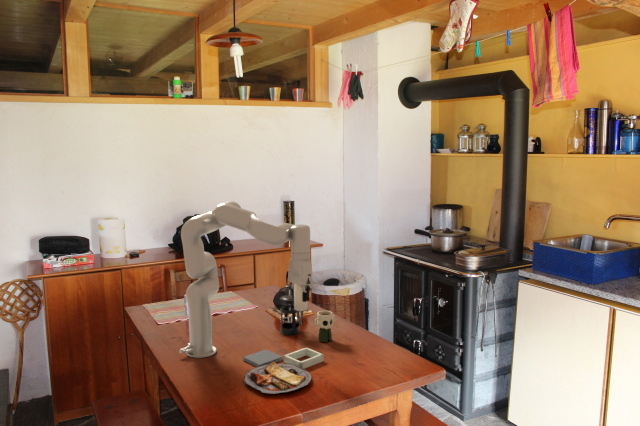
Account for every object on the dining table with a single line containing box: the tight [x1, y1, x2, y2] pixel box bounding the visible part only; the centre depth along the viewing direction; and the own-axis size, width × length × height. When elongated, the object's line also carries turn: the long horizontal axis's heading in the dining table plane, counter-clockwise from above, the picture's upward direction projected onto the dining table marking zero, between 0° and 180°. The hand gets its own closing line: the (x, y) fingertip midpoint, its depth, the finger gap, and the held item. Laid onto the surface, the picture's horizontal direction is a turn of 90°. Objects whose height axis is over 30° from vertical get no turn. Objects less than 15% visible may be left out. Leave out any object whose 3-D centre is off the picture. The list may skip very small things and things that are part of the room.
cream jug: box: [293, 283, 312, 312], centre depth 223 cm, size 8×6×12 cm
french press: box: [279, 284, 304, 337], centre depth 260 cm, size 12×9×23 cm
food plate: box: [243, 362, 312, 395], centre depth 209 cm, size 25×23×4 cm
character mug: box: [314, 310, 336, 343], centre depth 250 cm, size 11×7×13 cm, turn 121°
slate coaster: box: [242, 349, 284, 368], centre depth 229 cm, size 12×11×2 cm
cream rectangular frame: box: [283, 347, 324, 370], centre depth 227 cm, size 12×10×3 cm
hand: (300, 299), depth 223 cm, fingers closed on cream jug, 5 cm apart
